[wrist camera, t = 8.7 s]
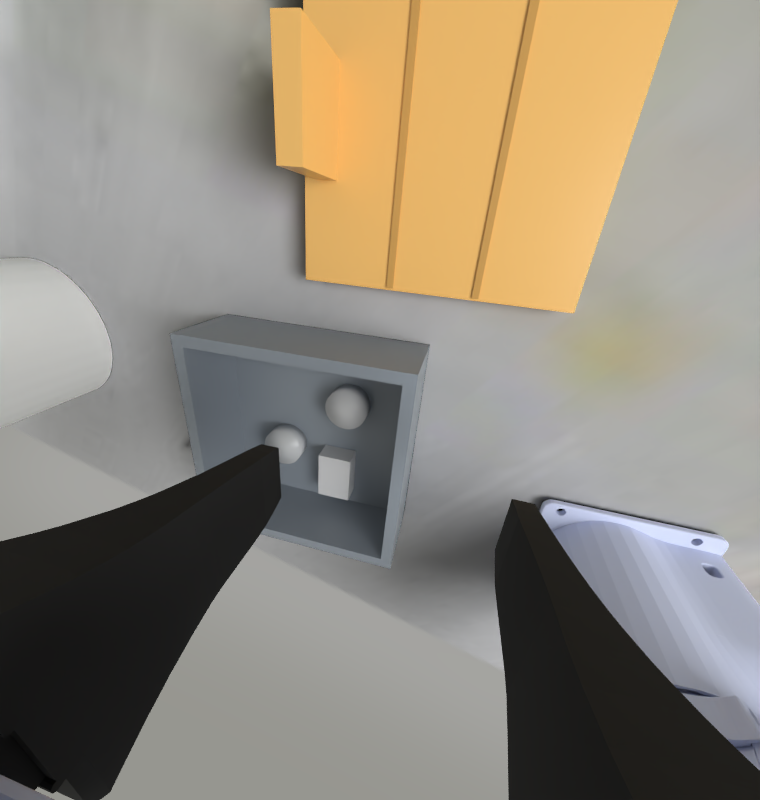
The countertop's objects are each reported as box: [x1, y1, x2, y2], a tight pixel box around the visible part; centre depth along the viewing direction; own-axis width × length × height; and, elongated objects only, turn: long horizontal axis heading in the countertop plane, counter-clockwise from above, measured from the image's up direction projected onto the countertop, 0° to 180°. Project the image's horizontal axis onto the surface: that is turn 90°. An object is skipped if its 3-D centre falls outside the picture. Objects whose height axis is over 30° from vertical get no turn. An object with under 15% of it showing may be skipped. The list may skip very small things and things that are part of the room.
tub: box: [170, 314, 430, 569], centre depth 20 cm, size 12×12×4 cm
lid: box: [270, 0, 678, 313], centre depth 13 cm, size 13×13×5 cm
